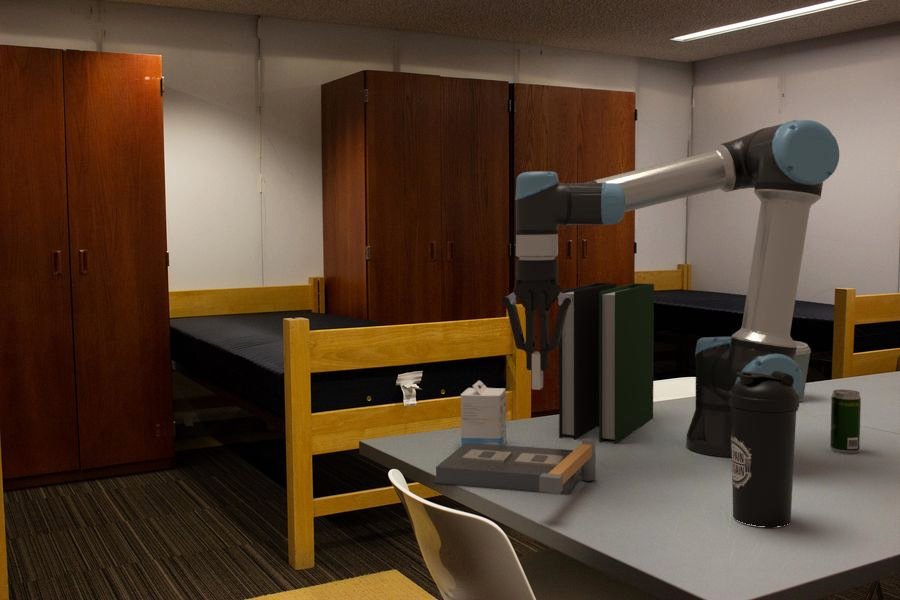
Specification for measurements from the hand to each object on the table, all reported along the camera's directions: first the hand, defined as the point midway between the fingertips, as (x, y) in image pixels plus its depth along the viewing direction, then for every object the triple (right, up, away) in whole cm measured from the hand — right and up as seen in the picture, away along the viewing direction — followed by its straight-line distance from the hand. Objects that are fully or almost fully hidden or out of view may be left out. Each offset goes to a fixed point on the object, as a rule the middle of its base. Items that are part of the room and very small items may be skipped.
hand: (537, 388), depth 157 cm
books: (+19, -13, +39) cm, 46 cm away
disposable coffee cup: (+71, -10, +66) cm, 98 cm away
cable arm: (+5, -17, -12) cm, 21 cm away
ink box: (-9, -15, +24) cm, 30 cm away
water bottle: (+33, -18, -23) cm, 44 cm away
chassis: (-4, -16, +3) cm, 17 cm away
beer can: (+63, -14, +16) cm, 67 cm away
